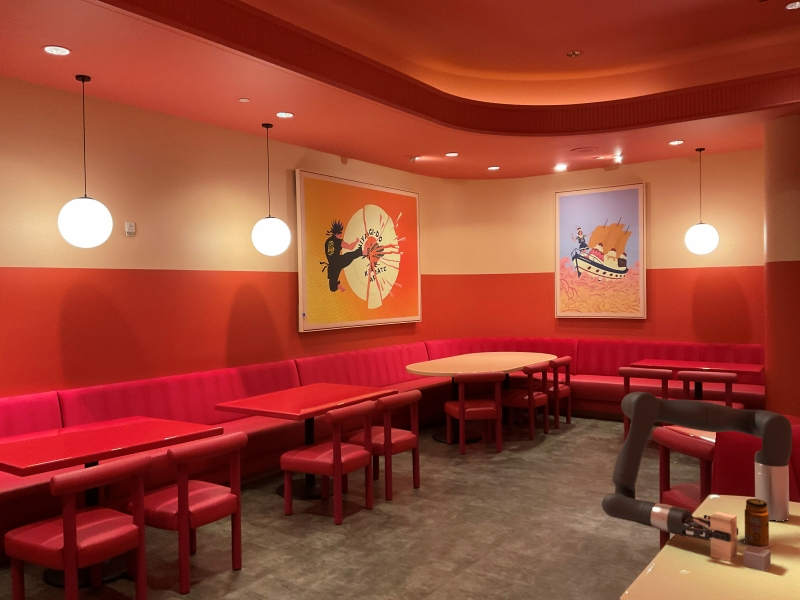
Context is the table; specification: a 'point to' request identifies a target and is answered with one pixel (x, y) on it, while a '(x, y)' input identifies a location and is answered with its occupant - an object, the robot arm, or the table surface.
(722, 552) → the maple block
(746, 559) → the rubber block
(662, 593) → the table surface
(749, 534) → the condiment
